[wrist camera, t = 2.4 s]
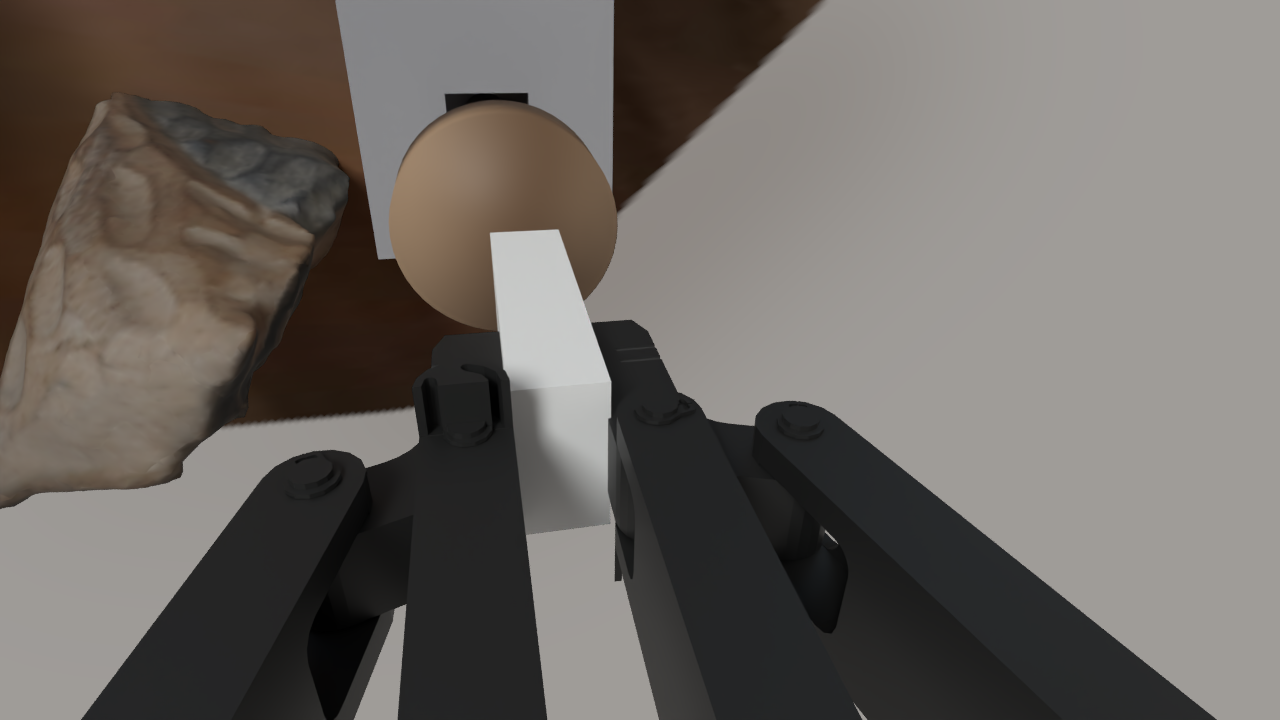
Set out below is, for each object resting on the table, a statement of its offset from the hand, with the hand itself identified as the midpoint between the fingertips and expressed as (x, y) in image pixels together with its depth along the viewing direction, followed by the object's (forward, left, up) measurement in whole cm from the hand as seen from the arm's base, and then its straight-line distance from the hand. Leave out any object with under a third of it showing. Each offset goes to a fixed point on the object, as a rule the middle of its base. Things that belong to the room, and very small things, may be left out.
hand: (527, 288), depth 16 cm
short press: (0, 0, -30) cm, 30 cm away
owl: (-15, -6, -30) cm, 34 cm away
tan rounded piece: (0, 0, -19) cm, 19 cm away
